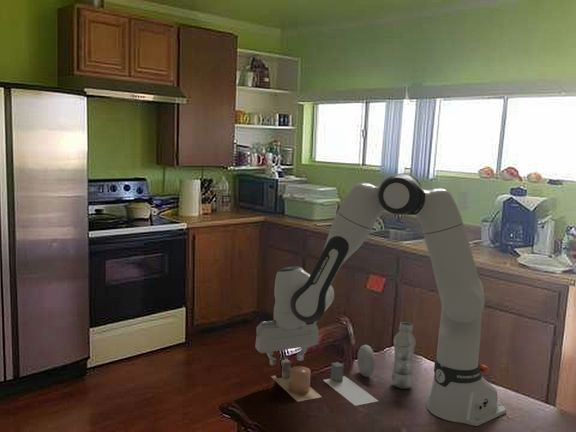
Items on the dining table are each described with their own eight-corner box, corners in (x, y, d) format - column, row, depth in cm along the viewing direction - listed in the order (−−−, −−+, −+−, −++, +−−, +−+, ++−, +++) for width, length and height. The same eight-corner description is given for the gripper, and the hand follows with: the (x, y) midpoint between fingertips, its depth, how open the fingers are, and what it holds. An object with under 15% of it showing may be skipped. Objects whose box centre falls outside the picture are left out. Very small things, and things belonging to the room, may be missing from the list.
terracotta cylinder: (303, 384, 165) (304, 364, 164) (313, 392, 159) (314, 372, 159) (285, 387, 162) (286, 367, 161) (295, 395, 157) (295, 375, 156)
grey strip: (344, 379, 172) (345, 360, 171) (378, 404, 156) (379, 384, 155) (322, 383, 168) (323, 364, 168) (354, 409, 152) (356, 388, 152)
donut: (375, 382, 171) (377, 351, 170) (364, 382, 171) (366, 351, 169) (365, 369, 181) (367, 340, 180) (355, 369, 180) (357, 340, 179)
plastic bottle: (412, 392, 165) (417, 328, 163) (390, 389, 166) (394, 326, 164) (412, 383, 171) (417, 322, 169) (390, 381, 173) (394, 319, 170)
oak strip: (293, 375, 173) (294, 357, 172) (322, 400, 157) (323, 380, 156) (270, 379, 169) (271, 360, 168) (297, 404, 153) (298, 384, 152)
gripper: (260, 325, 160) (259, 371, 161) (321, 317, 169) (320, 360, 170) (252, 319, 165) (251, 363, 167) (311, 312, 174) (310, 354, 176)
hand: (286, 362), depth 169 cm, fingers open, 8 cm apart
